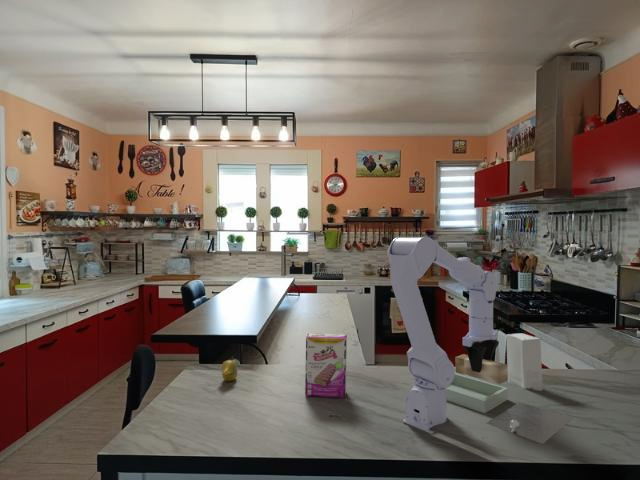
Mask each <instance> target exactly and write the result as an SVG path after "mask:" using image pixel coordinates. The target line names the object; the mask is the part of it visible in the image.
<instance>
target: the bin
mask: <svg viewBox="0 0 640 480" xmlns="http://www.w3.org/2000/svg"><path fill="white" fill-rule="evenodd" d="M508 388H509V387H505V386H501V385H499V384H496V383H492V382H489V381H485V380H482V379H478V378H477V379H476V378H475V377H471V376H468V375H463V374H460V373H456V372H455V375H454V379H453V381H452V383H451V384H450V385H449V387H447V402H450V403H454V404H456V405H459V406H462V407H465V408H467V409H470V410H474V411H476V412H480V413H482V414H486V413H488V412H489V411H492V410H493V409H495V408H496V407H499V406H500V405H501V404H503V403H504V402H507V401H508V400H509V398H508V397H509V395H508V394H509V389H508Z"/></svg>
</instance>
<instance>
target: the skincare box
mask: <svg viewBox="0 0 640 480" xmlns="http://www.w3.org/2000/svg"><path fill="white" fill-rule="evenodd" d="M541 346H542V345H541V338H540V337H536V336H532V335H530V334H529V335H528V334H525V333H520V332H519V333H508V334H506V359H507V360H506V364H508V381H507V383H508V384H512V385H516V386H518V387H521V388H522V389H524V390H529V389H530V390H534V391H538V392H543V388H544V387H543V369H542V366H543V365H542V349H541V348H542V347H541Z"/></svg>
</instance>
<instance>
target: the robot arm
mask: <svg viewBox="0 0 640 480" xmlns="http://www.w3.org/2000/svg"><path fill="white" fill-rule="evenodd" d="M386 255H387V259H388V262H389V276H390V280H389V281H390V284H391V285H390V286H392V290H393V294H394V297H395V299H396V303H397V306H398V309H399V311H400V314H401V318H402V321H403V324H404V326H405V330H406V333H407V336H408V339H409V342H410V345H411V347H410V348H409V349H408V351H406V356H407V361H408V363H407V368H408V371H409V374H410V375H411V376H412V380H413V381H414V385H413V387H412V388H411V389H410V390H409V391H408V392H407V393H406V394H407V395H406V398H405V399H406V400H405V401H406V402H405V404H406V405H405V409H406V411H405V414H406V415H405V418H403V419H402V421H403V423H405V424H407V425H409V426H412V427H415V428H417V429H419V430H422V432H423V431H424V432H426V433H428V434H431V435H432V434H435V433H437V431H436V430H434V429H432V428H433V427H435V426H437V425H442V424H445V422H447V409H448V408H447V407H448V405H447V403H448V401H447V387H449V385H450V384H451V383H452V381H453V379H454V375H455V373H456V371H455V365H454V364H453V362H452V361H451V360H450V359H449V357H448V354H447V353H446V351H445V350H444V349H442V348H441V347H440V345H438V343H437V342H436V339H435V335H434V333H433V330H432V327H431V323H430V320H429V316H428V313H427V311H426V308H425V305H424V301H423V298H422V295H421V291H420V289H419V284H418V281H419V279H421V278H422V277H424V275H425V273H426V272H427V271H428V269H429V268H430V266H432V264H433V263H434V264H436V265H438V266H440V267H441V268H444V269H446V270H447V271H448V273H449V275H450V277H451V278H452V279H454V280H456V281H457V282H459V283H461V284H462V285H464V288H465V290H466V291H468V292H469V293H468V295H469V297H468V298H469V299H468V300H469V303H468V306H469V307H468V308H469V309H468V332H467V334H466V335H465V336H463V337H462V347H463V348H464V350H465V352H466V355H468V358H469V361H470V365H471V369H472V371H475V372H481V369H482V360H483V359H486V360H491V361H493V356H494V354H495V351H496V349H497V348H498V346H499V342H500V341H498V337H499V331H498V330H496V329H494V301H495V298H496V294H497V291H498V288H499V281H498V277H497V275H496V274H495V273H494V272H493V271H489V270H485V269H483V268H482V266H481V265H477V264H475V263H474V262H472V261H471V258H470V257H466V256H463V257H456V256H454V255H453V254H451V253H450V252H449V251H448V250H446V249H444V248H443V247H442V246H441V245H440V244H439V242H438V241H437V240H433V239H432V238H431V237H429V236H422V237H420V236H419V237H404V236H397V237H395V238H393V240H391V242H390V244H389V247H388V249H387V251H386Z"/></svg>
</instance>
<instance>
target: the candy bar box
mask: <svg viewBox="0 0 640 480" xmlns="http://www.w3.org/2000/svg"><path fill="white" fill-rule="evenodd" d="M347 342H348V336H347V334H345V333H344V334H342V333H339V334H338V333H318V332H317V333H314V332H313V333H312V332H308V333H307V335H306V337H305V377H304V378H305V382H304V383H305V384H304V386H305V387H304V390H305V391H304V393H305V394H304V396H305V397H315V398H316V397H319V398H336V399H337V398H339V399H345V398H346V394H347V355H348V351H347V349H348V348H347V347H348V343H347Z"/></svg>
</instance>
